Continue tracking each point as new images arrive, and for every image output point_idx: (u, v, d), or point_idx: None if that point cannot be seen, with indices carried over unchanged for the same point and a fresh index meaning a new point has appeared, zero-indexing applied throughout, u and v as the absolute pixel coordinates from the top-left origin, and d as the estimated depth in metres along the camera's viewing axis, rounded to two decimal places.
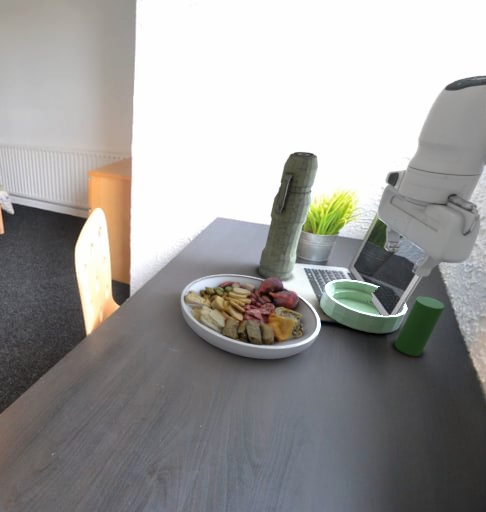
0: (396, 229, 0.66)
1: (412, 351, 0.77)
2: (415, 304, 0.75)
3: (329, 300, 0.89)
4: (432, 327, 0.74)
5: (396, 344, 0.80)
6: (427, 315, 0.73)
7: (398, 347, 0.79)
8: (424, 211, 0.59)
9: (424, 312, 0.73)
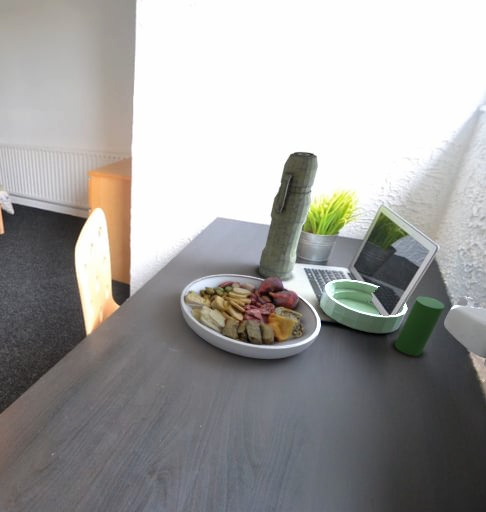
0: None
1: (412, 351, 0.77)
2: (415, 304, 0.75)
3: (329, 300, 0.89)
4: (432, 327, 0.74)
5: (396, 344, 0.80)
6: (427, 315, 0.73)
7: (398, 347, 0.79)
8: None
9: (424, 312, 0.73)
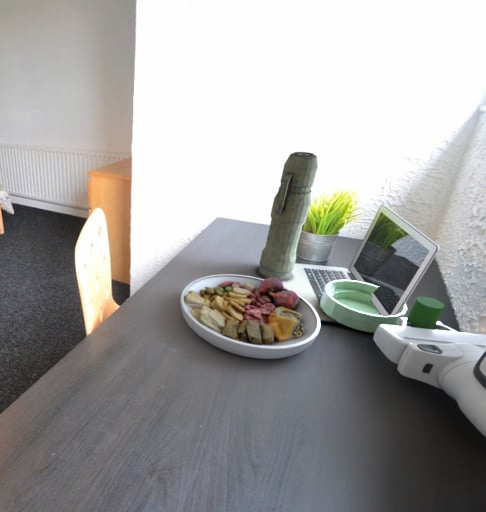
0: None
1: None
2: (415, 304, 0.75)
3: (329, 300, 0.89)
4: (432, 327, 0.74)
5: None
6: (427, 315, 0.73)
7: None
8: None
9: (424, 312, 0.73)
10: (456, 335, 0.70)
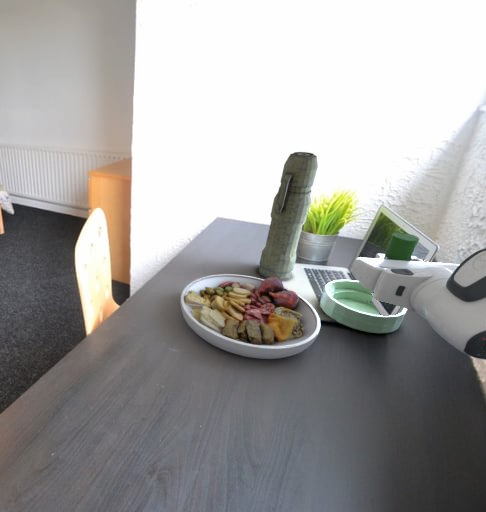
0: None
1: None
2: (392, 239, 0.78)
3: (329, 300, 0.89)
4: (407, 260, 0.77)
5: None
6: (402, 248, 0.76)
7: None
8: None
9: (399, 245, 0.77)
10: (429, 264, 0.74)
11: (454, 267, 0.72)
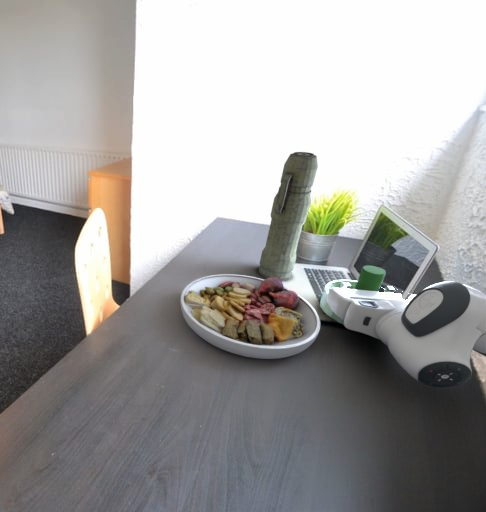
0: None
1: None
2: (362, 272, 0.86)
3: None
4: None
5: None
6: (371, 281, 0.84)
7: None
8: None
9: (368, 278, 0.84)
10: (395, 295, 0.81)
11: None
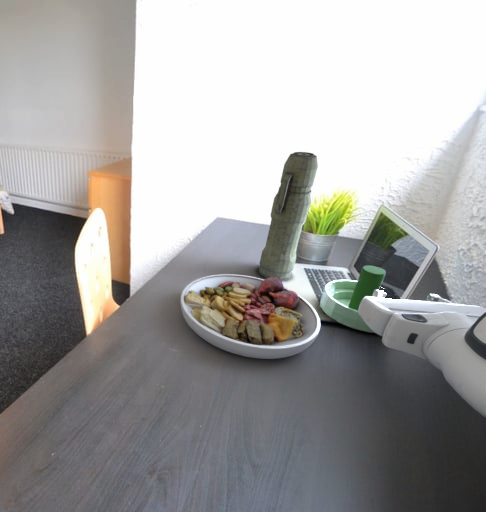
0: None
1: None
2: (362, 272, 0.86)
3: (329, 300, 0.89)
4: None
5: None
6: (371, 281, 0.84)
7: None
8: None
9: (368, 278, 0.84)
10: (443, 306, 0.67)
11: (471, 309, 0.66)
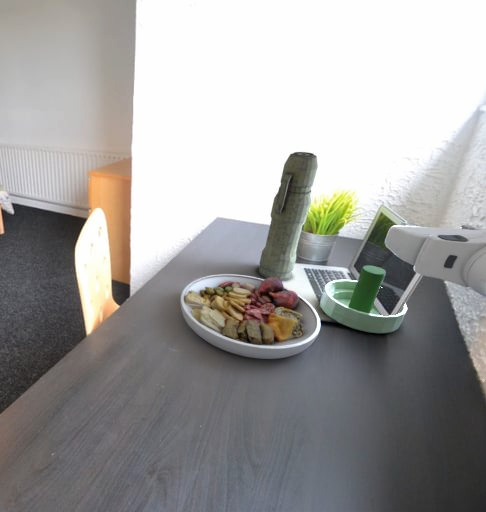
0: None
1: None
2: (362, 272, 0.86)
3: (329, 300, 0.89)
4: (376, 291, 0.85)
5: None
6: (371, 281, 0.84)
7: None
8: None
9: (368, 278, 0.84)
10: None
11: None
